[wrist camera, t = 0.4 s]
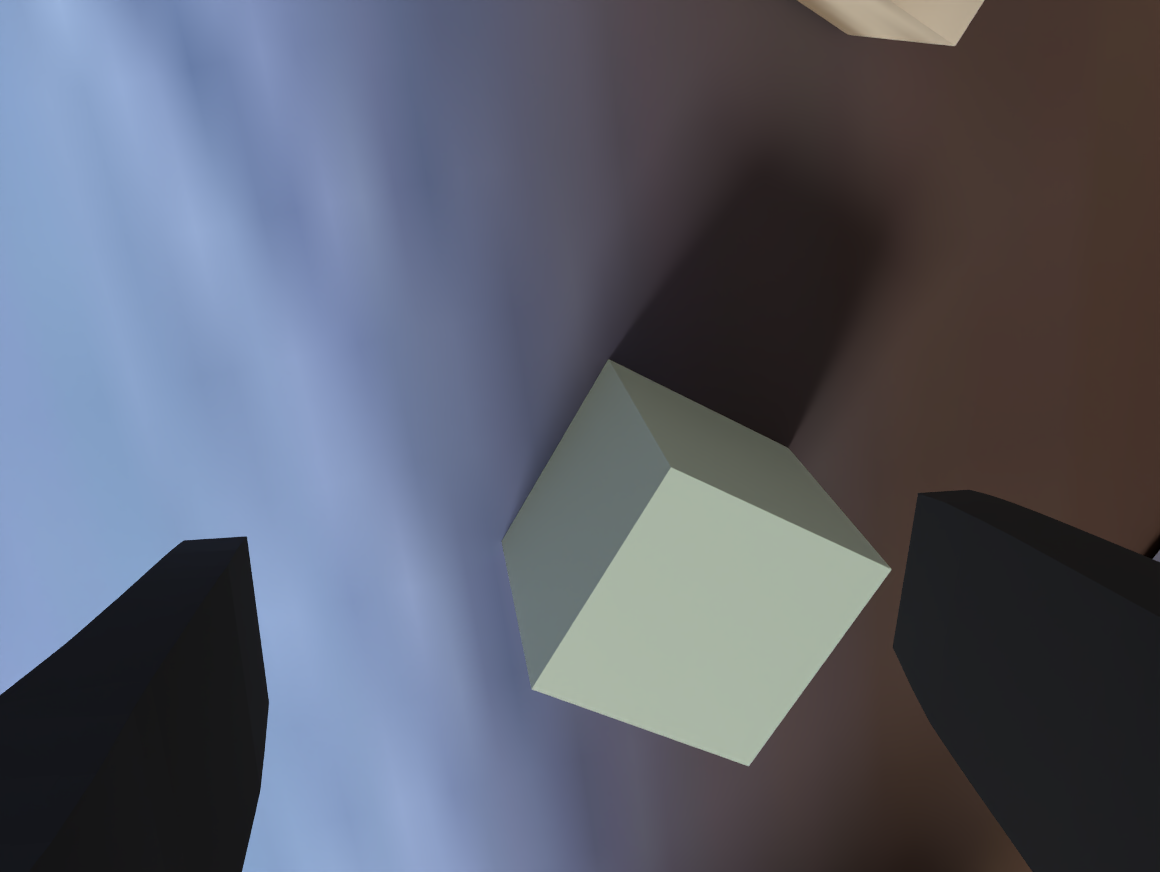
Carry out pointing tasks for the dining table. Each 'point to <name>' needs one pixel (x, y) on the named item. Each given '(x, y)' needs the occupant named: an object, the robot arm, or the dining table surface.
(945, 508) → the robot arm
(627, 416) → the sage cube
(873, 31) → the beech base
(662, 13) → the dining table surface
